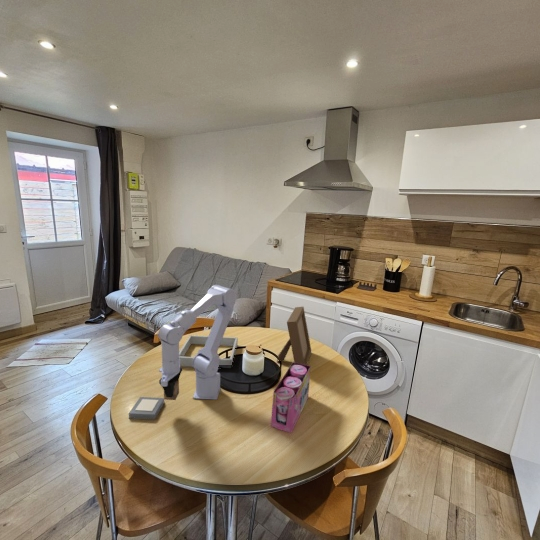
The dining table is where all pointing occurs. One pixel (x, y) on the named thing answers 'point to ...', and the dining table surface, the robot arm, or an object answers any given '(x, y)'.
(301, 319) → the photo frame
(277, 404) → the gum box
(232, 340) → the grey corral
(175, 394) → the walnut block
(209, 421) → the dining table surface
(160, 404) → the plate
